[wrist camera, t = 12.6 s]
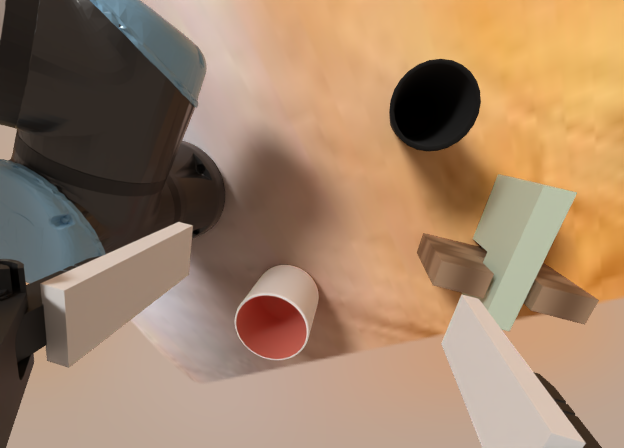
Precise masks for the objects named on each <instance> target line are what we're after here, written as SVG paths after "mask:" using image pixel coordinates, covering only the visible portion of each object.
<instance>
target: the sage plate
mask: <svg viewBox="0 0 624 448" xmlns="http://www.w3.org/2000/svg"><path fill="white" fill-rule="evenodd" d="M576 194H577V192H573V191H568V190H564V189H560V188H556V187H552V186H548V185H543V184H539V183H535V182H531V181H527V180H523V179H518V178H513V177H509V176H504V175H500V174H498V176H497V179H496V181H495V184H494V186H493V189H492V191H491V194H490V196H489V199H488V201H487V204H486V206H485V209H484V211H483V214H482V216H481V219H480V221H479V224H478V226H477V229H476V231H475V234H474V237H473V239H474V240H475V241H476V242H477V243H478V244H479V245H480V246H482V247H483V248H484V249H485V250H486V251H487V254H486V256H485V259H484V261H483V263H484V264H485V265H486V266H487V267H488V268H489V269H490V270H491V271H492V272H493V273H494V275H493V278H492V280H491V282H490V284H489V287H488V289H487V291H486V294H485V296H484V298H481V297H477V296H473V295H469V294H465V293H462V294H463V295H466V296H470V297H474V298H478V299H479V300H480V301H481V302H482V304H483V305H484V306H485V308H486V309H487V311H488V312H489V313H490V315H491V316H492V317H493V319H494V320H495V321H496V323H497V324H498V325H499V327H500V328H501V329H502V330H506V331H510V329H511V327H512V325H513V323H514V321H515V319H516V317H517V315H518V313H519V311H520V309H521V307H522V305H523V303H524V301H525V299H526V297H527V295H528V293H529V290H530V288H531V286H532V284H533V282H534V280H535V278H536V276H537V274H538V272H539V270H540V268H541V266H542V264H543V262H544V260H545V258H546V256H547V254H548V251H549V249H550V247H551V245H552V243H553V241H554V239H555V237H556V235H557V233H558V231H559V229H560V227H561V225H562V223H563V221H564V219H565V217H566V215H567V213H568V210H569V208H570V206H571V204H572V202H573V200H574V198H575V196H576Z"/></svg>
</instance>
